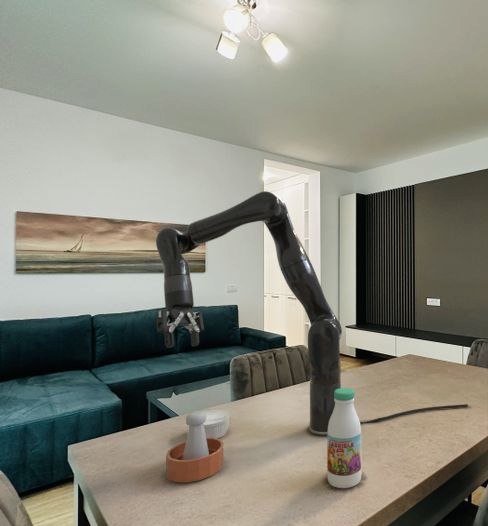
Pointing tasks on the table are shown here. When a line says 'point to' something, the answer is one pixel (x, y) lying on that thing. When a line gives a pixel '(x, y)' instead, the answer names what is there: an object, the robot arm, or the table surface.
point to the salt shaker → (196, 437)
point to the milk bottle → (344, 442)
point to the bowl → (194, 462)
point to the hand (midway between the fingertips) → (183, 346)
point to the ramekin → (216, 423)
